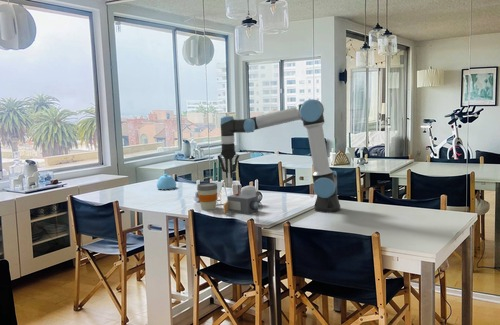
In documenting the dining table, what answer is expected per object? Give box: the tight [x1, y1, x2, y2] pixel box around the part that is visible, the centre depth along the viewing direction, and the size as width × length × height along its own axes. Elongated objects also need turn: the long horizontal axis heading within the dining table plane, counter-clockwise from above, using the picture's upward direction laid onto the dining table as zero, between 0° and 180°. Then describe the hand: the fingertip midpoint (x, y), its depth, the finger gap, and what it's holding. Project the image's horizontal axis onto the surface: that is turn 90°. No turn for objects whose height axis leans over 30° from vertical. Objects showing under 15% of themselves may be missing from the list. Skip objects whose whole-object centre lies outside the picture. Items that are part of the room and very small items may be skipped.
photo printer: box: [240, 185, 257, 196], centre depth 296 cm, size 10×4×12 cm, turn 123°
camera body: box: [227, 192, 260, 215], centre depth 280 cm, size 18×9×10 cm, turn 51°
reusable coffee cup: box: [196, 182, 218, 211], centre depth 292 cm, size 13×12×15 cm
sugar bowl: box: [156, 173, 177, 190], centre depth 368 cm, size 15×15×12 cm
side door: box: [223, 199, 229, 215], centre depth 276 cm, size 11×1×6 cm, turn 171°
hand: (229, 183), depth 273 cm, fingers closed
